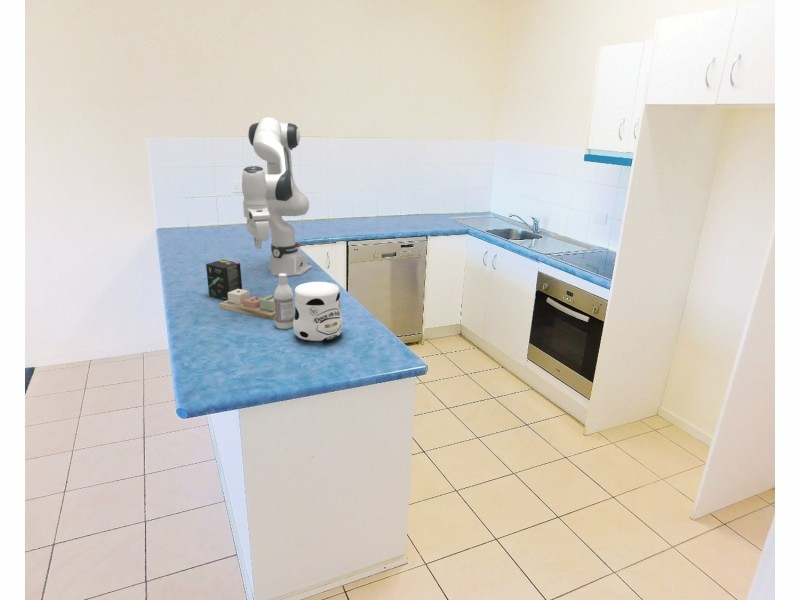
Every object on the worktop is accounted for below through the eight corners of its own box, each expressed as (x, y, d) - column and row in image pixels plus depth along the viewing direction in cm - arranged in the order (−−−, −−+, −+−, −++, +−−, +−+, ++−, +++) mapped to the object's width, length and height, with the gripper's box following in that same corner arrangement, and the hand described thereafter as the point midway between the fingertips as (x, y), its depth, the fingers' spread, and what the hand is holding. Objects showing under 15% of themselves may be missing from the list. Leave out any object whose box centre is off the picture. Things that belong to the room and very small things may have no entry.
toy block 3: (269, 304, 214) (269, 294, 212) (282, 306, 211) (281, 296, 210) (260, 308, 208) (259, 298, 207) (272, 311, 206) (271, 301, 205)
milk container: (333, 348, 180) (333, 298, 174) (285, 343, 184) (283, 293, 178) (348, 329, 196) (348, 283, 190) (304, 324, 200) (302, 278, 194)
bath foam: (277, 322, 201) (275, 271, 195) (296, 322, 201) (294, 271, 195) (273, 329, 195) (270, 276, 188) (292, 329, 195) (290, 277, 188)
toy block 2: (254, 305, 217) (253, 295, 216) (266, 307, 215) (265, 298, 214) (244, 309, 212) (243, 300, 211) (256, 312, 210) (255, 302, 208)
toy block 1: (238, 297, 220) (237, 288, 219) (250, 300, 218) (249, 290, 216) (228, 302, 215) (227, 292, 213) (240, 304, 212) (239, 294, 211)
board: (240, 299, 224) (239, 295, 223) (291, 310, 214) (290, 305, 213) (219, 308, 214) (219, 303, 213) (272, 319, 203) (271, 314, 203)
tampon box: (243, 295, 229) (241, 262, 224) (226, 301, 221) (223, 267, 216) (225, 291, 234) (222, 258, 229) (208, 296, 226) (205, 263, 222)
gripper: (241, 207, 206) (244, 242, 211) (253, 216, 189) (255, 254, 193) (258, 207, 209) (260, 241, 213) (271, 215, 192) (273, 253, 196)
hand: (258, 247), depth 203 cm, fingers closed
